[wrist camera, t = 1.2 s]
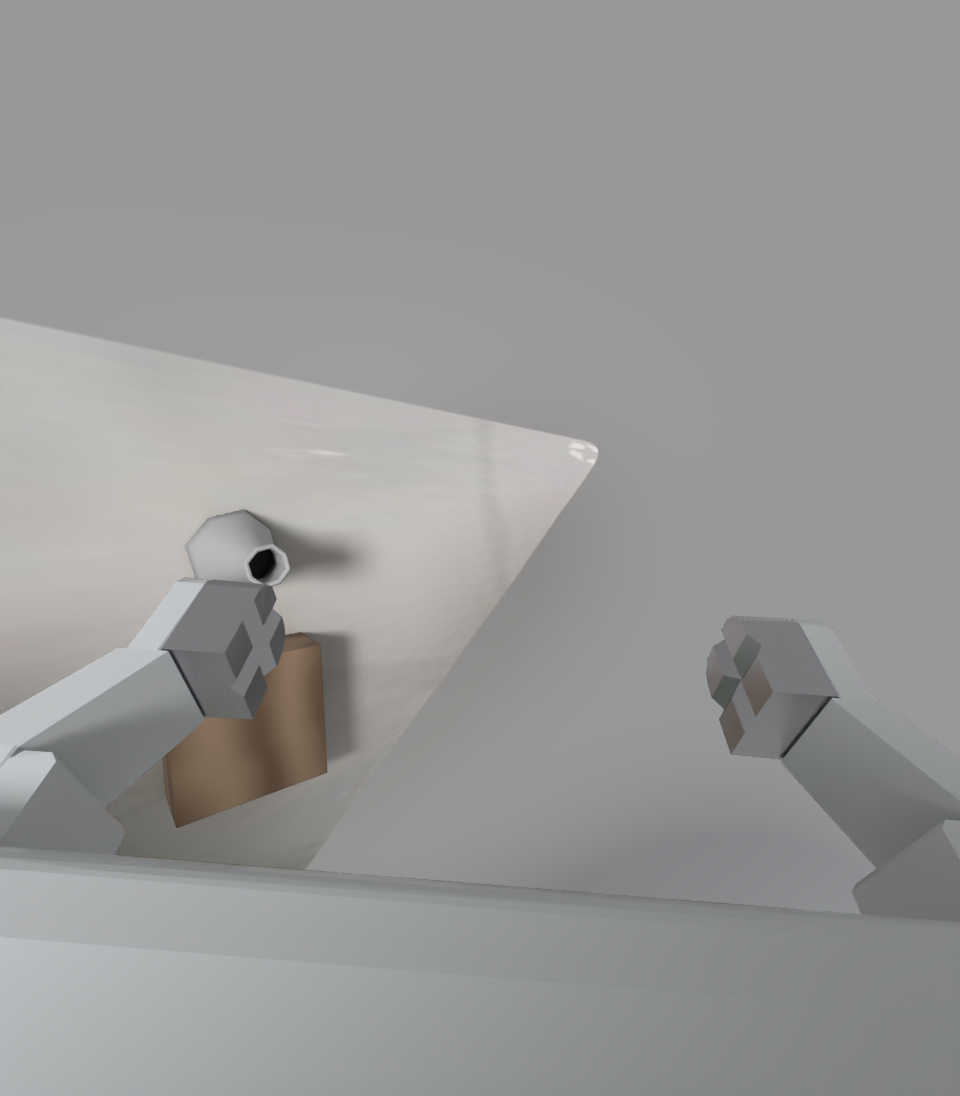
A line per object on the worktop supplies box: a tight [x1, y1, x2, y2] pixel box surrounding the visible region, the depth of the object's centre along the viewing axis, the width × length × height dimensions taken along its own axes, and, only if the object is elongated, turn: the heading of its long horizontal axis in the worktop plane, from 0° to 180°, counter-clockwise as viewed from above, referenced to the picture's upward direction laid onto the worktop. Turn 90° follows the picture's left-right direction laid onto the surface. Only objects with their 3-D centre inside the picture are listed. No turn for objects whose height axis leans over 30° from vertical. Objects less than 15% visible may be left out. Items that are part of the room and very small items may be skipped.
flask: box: [185, 510, 291, 586], centre depth 41 cm, size 7×7×10 cm
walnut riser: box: [163, 632, 327, 828], centre depth 45 cm, size 12×12×5 cm
